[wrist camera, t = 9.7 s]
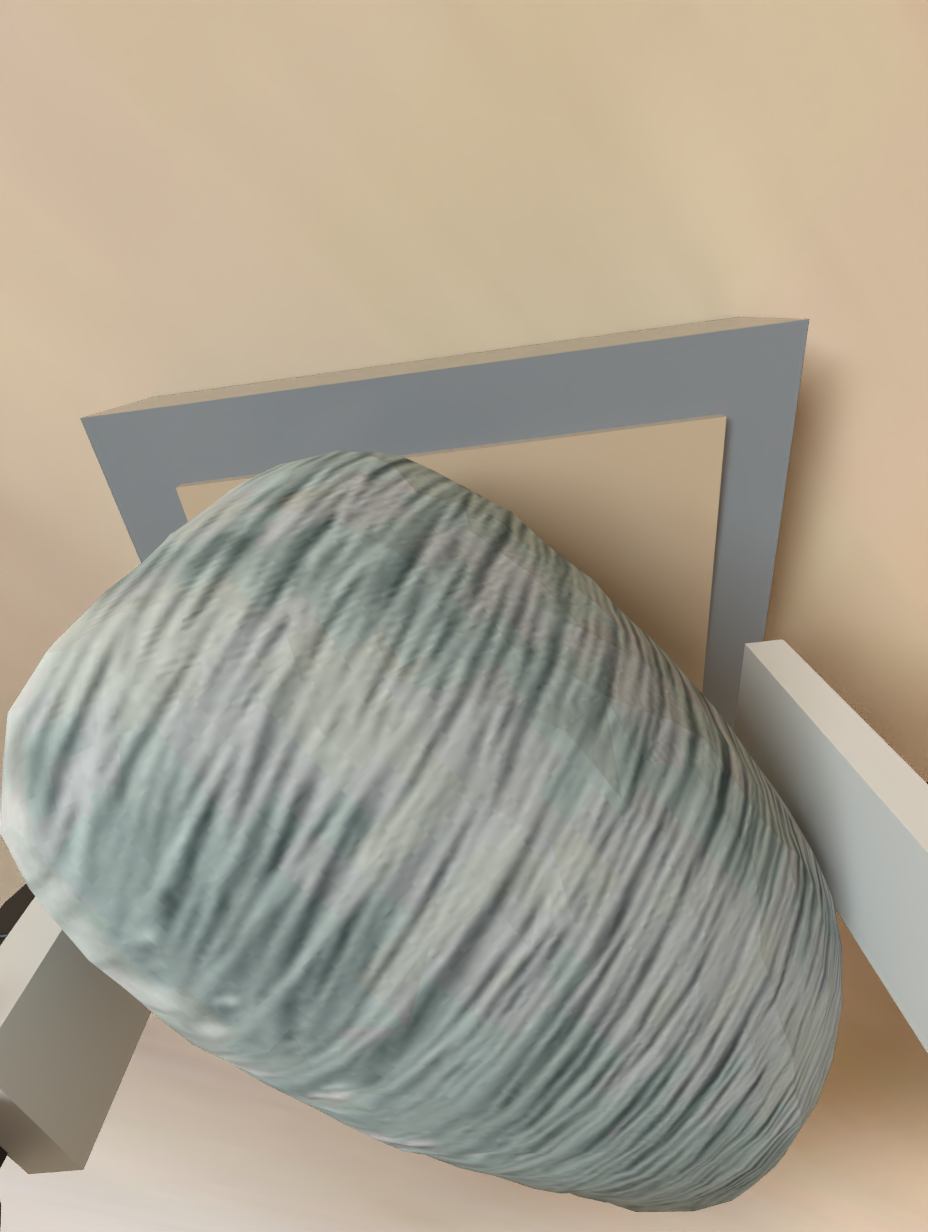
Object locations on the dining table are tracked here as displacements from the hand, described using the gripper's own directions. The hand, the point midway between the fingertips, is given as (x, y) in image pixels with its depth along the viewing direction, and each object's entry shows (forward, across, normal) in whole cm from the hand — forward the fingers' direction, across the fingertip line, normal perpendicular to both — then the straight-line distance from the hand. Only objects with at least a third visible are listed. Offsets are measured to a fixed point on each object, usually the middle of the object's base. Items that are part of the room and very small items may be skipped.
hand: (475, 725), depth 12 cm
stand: (+5, 0, 0) cm, 5 cm away
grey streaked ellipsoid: (+1, 0, 0) cm, 1 cm away
